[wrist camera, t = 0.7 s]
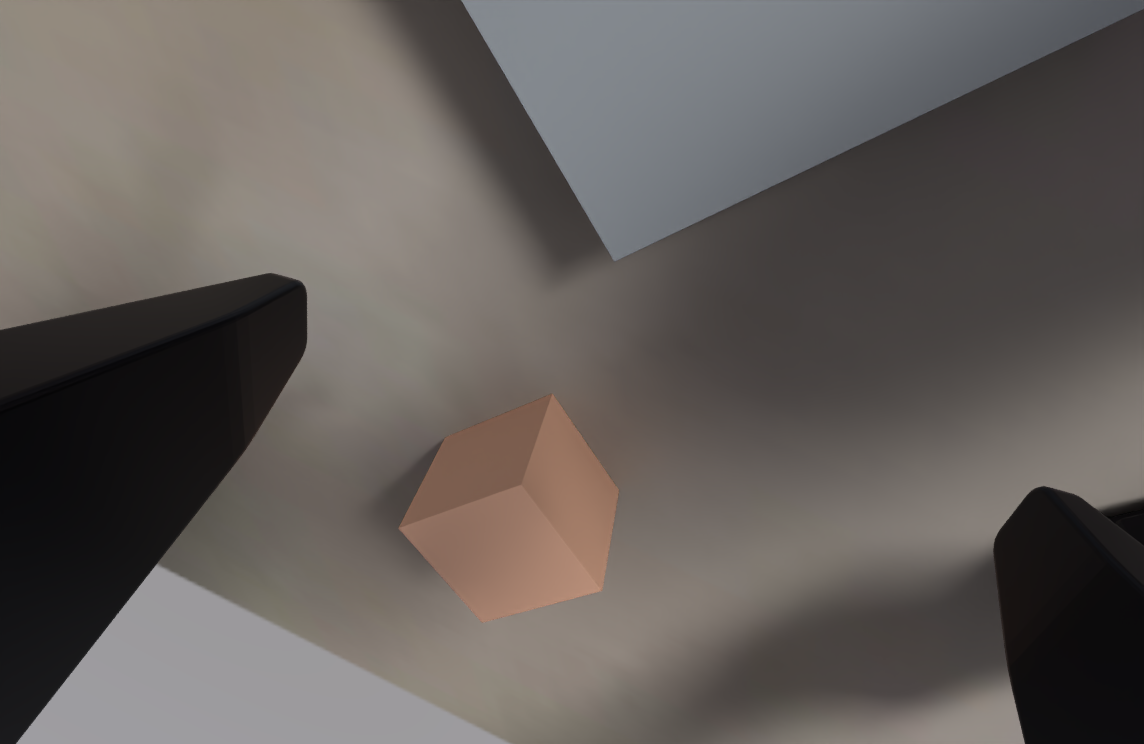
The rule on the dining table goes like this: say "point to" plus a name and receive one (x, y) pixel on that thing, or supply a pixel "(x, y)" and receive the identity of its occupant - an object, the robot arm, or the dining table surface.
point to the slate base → (745, 87)
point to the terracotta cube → (515, 512)
